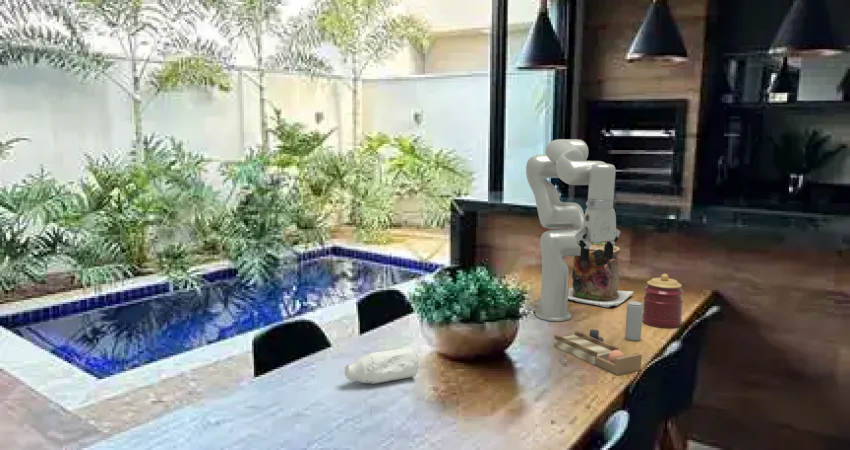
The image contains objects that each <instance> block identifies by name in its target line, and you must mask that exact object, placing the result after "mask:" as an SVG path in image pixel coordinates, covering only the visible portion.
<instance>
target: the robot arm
mask: <svg viewBox="0 0 850 450" xmlns="http://www.w3.org/2000/svg"><path fill="white" fill-rule="evenodd" d="M588 157H589V146H588V145H587V143H586V142H585V141H584V140H582V139H577V138H575V139H574V138H572V139H565V138H562V139H561V138H559V139H554V140H551V141H549V142H548V144H547V145H546V146H545V154H537V155H534V156H531V157H529V158H528V160H527V161H526V165H525V173H526V179H527V182H528V185H529V187H530V189H531V191H532V193H533V196H534V199H535V205H536V209H537V215H538V218H539V223H540V225H541V226H542V227H543V228H544V229H549V230H547V231H545V232H542V234H541V237H540V241H539V243H540V250H541V288H540V299H539V300H538V301H536V302H535V306H536V307H538V309H537V311H535V317H536V318H538V319H541V320H543V321H548V322H549V321H551V322H564V321H565V322H567V321H569V320H571V319H572V317H573V316H572V313H571V312H569V311H568V303H569V299H568V289H569V284H570V283H569V282H570V268H569V266H568V264H567V262H566V261H565V260H564V257H574V256H580V260H582V261H586V262H588V261H589V250H590V244H591V243H592V242H593V243H600V242H606V244H605V248H604V257H606V258H610V259H612V258H613V246H616V243H617V242H618V240H619V237H620V235H621V230H619V229H618V228H617V216H616V211H615V209H614V196H615V185H616V183H615V182H616V167H615V165H614V164H612V163H611V164H610V163H606V162H604V161H601V160H587V159H588ZM547 178H548V179H550V178H551V179H554V178H555V179H560V180H561V181H562V182H564V183H565V184H567V185H570V186H588V191H587V192H588V194H587V201H586V202H585V206H586V208H585V212H584V210H583V208H582V206H581V205H580V204H579V203H577V202H569V201H567V202H565V201H561V200H560V196H559V192H558V190H557V188H556V187H555V185H554V184H553V182H550V181H549V180H548V179H547Z"/></svg>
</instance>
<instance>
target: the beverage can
mask: <svg viewBox="0 0 850 450" xmlns="http://www.w3.org/2000/svg"><path fill="white" fill-rule="evenodd" d="M643 307H644V304H643V302H640V301H636V300H629V301H628V302H627V304H626V313H625V315H626V316H625V333H624V338H625V339H626V340H628V341H632V342H637V341H640V340H641V337H642V323H643V318H642V316H643V315H642V314H643Z"/></svg>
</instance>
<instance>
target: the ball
mask: <svg viewBox="0 0 850 450" xmlns="http://www.w3.org/2000/svg"><path fill="white" fill-rule="evenodd" d="M624 355H625V353H623V352H622V351H621V350H619V349H618V350H613V351H612V352H610V354H609V361H610V362H611V363H613V364H615V358H618V357H623V356H624Z"/></svg>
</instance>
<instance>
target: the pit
mask: <svg viewBox="0 0 850 450" xmlns="http://www.w3.org/2000/svg"><path fill="white" fill-rule="evenodd" d="M642 357H643V356H642V353H639V352H638V353H637V352H636V353H633V354H628V355H627V354H624V356H623V357H618V358H615V364H613V363H611V362H610V361H606V360H604V359H602V358H600V357H595V365H594V366H596V367H598V368H601V369H602V370H605V371H606V372H610V373H612V374H614V375H616V376H619V375H624V374H629V373H632V372H637V371H641V370H642Z"/></svg>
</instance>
